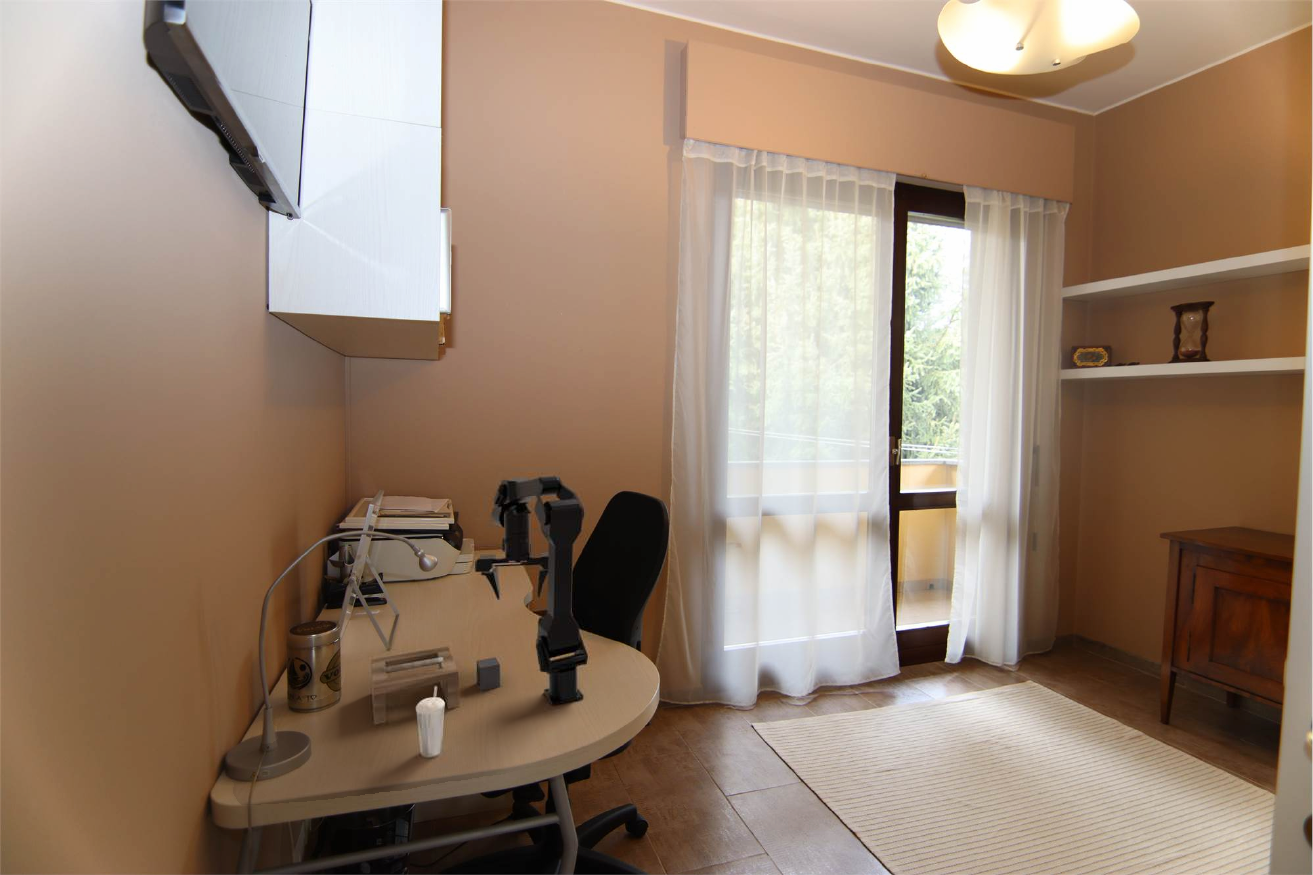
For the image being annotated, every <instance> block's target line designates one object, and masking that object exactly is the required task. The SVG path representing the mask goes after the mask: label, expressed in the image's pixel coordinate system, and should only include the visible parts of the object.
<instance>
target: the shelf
mask: <svg viewBox="0 0 1313 875" xmlns="http://www.w3.org/2000/svg"><path fill="white" fill-rule="evenodd" d="M435 665H438V669H435V670H431V671H430V670H429V671H425V672H419V673H415V674H409V675H403V676H399V677H393V678H388V674H391V673H397V672H402V671H407V670H412V669H419V668H425V667H429V666H435ZM370 668H371V669H370V673H371V697H372V700H371V701H372V713H373V724H374V726H375V725H380V724H385V723H387V705H386V703H387V701H386V693H391V692H397V691H401V690H406V689H412V688H417V687H421V686H426V685H431V684H436V683H437V684H438V683H439V685H440V687H441V691H442V693H443V697H444V700H445V704H446V705H447V709H448V710H450V709H455V708H458V707H459V708H460V688H459V687H460V686H459V669H458V667H457V664H456V662H455V660H454V657H453V655H452V653H451V650H450V648H449V646H448V645H447V646H443V647H437V648H430V649H425V650H420V651H419V650H418V651H415V652H414V651H413V652H408V653H401V654H397V655H396V654H395V655H390V656H384V657H378V658H371V659H370Z"/></svg>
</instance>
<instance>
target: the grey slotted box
mask: <svg viewBox="0 0 1313 875" xmlns="http://www.w3.org/2000/svg"><path fill="white" fill-rule="evenodd" d="M500 665H501V664H500V662H499V660H498V658H497V657H496V656H494V657H489V658H485V659H484V658H483V659H478V660H476V684H477V685H479V690H480V691H486V690H490V689H495V688H500V687H501V668H500V667H501V666H500Z"/></svg>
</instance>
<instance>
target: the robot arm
mask: <svg viewBox="0 0 1313 875" xmlns="http://www.w3.org/2000/svg"><path fill="white" fill-rule="evenodd" d="M545 496H548V497H549V496H556V498H557V499H558V500H547V501H545V502H544V501H543V500H542V497H545ZM535 498H536V501H535V505H534V508H533V510H534V512H535V516H536V518H537V520H538V521H539V524H540V531H541V533H542V534H543V536H544V538H545V539H546V541H547V542H548V551H547V552H541V555H540V556H532V555H533V551H532V550H533V547H532V546H533V544H532V541H531V533H530V532H531V528H530V514H531V515H532V510H531V509H530V507H528V506H527V505H529V503H530V502H531V501H533V500H534V499H535ZM492 501H493V506H494V507H493V508H492V510H491V513H490V518H491V521H492V522H493V524H495V525H496V526H499V527H501V528H503V529H504V537H503V538H502V541H501V551H502V553H504V557H503V558H502V557H497V556H496V555H497V554H481V555H480V556H478V557H477V558H476V560H475V563H474V572H475V573H480V576H485V577H486V579H487V581H488V583H489V584H490V586H491V588H492V590H493V593H494V595H495V598H496V599H497V601H500V599H501V590H500V581H499V574H498V573H499V567H517V566H518V567H519V566H539V565H540V568H539V570H538V571H539V574H538V583H537V598H538V599H540V598H541V595H542V589H543V587H544V582H545V580H546V578H547V611H546V613H545V614H544V616H541V617H539V618H538V621H537V635H536V636H537V637H536V641H535V650H536V655H537V663H538V665H539V672H540V673H546V674H547V675H548V688H545V689H543V694H544V695H545V697H546V698H547V699H548V701H549V702H550V703H551V705H553V706H555V705H560V704H564V703H570V702H573V701H578V700H582V699H584V694H583V693H582V692H581V690H580V689H579V686H578V682H579V679H578V676H579V675H578V667H580V666H586V665H588V658H589V655H588V652H587V650H586V649H587V648H586V646H585V644H584V641H583V638H582V636H581V633H580V625H579V624H578V623H577V621H576V619H575V618H574V616H573V615H572V607H573V606H572V604H573V600H572V598H573V567H574V566H573V565H574V564H573V563H574V562H573V560H574V544H575V542H577V539H578V537H579V536H580V534H581V533H582V531H583V522H584V519H585V510H584V506H583V505H582V502H581V501H580V499H579V497H578V494H577V493H576V492H574V491H573V490H572V489H570V488H569V487H568V486H566V485H565V484H564V483H563V482H562V480H561V478H560V477H558V476H556V475H547V476H545V475H544V476H537V478H531V477H530V478H529V477H519V478H518V477H516V478H514V477H513V478H504V479H502V480H500V484H499V485H498V486H497V489H496V492H495V495H494V498H493V500H492ZM569 654H572V655H569ZM565 655H567V656H565ZM561 656H563V657H561ZM556 657H557V658H556ZM558 657H559V658H558ZM553 658H555V659H553Z"/></svg>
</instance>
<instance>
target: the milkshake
mask: <svg viewBox="0 0 1313 875" xmlns="http://www.w3.org/2000/svg"><path fill="white" fill-rule="evenodd" d="M433 690H434V691H433V697H426V698H424V699H422V700H420V701H419V702H418V703H417V705H416V706H415V713H416V719H417V727H418V739H419V745H420V746H419V747H420V748H419V749H420V754H421V756H422V757H423V758H434V757H436V756H439V755H440V754H441V752H442V750H443V734H444V717H445V716H444V715H445V705H446V701H444V700H443V699H442V698H441V697H437V692H438V686H437V685H435V686H434V688H433Z"/></svg>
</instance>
